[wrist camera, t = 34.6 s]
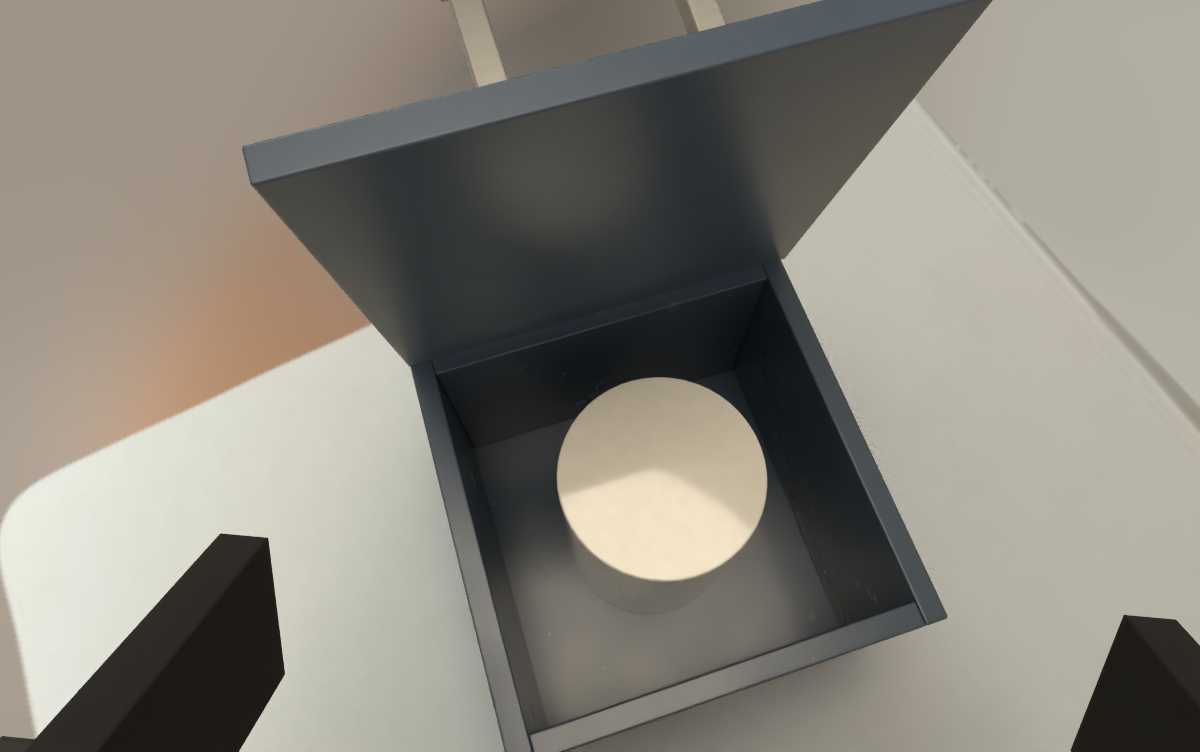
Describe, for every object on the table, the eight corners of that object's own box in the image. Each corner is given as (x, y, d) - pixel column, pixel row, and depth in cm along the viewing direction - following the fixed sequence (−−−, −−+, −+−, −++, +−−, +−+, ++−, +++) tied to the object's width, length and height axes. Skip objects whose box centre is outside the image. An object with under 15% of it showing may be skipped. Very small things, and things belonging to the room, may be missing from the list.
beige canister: (540, 562, 35) (516, 512, 26) (617, 432, 37) (621, 343, 28) (681, 645, 34) (708, 624, 24) (751, 504, 36) (802, 435, 27)
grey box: (859, 639, 34) (949, 617, 25) (536, 751, 33) (509, 771, 24) (739, 357, 39) (779, 255, 30) (456, 442, 38) (409, 361, 29)
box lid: (1000, -8, 15) (874, -283, 17) (249, 185, 14) (170, -135, 15) (785, 258, 30) (726, 101, 31) (409, 367, 28) (362, 197, 30)
